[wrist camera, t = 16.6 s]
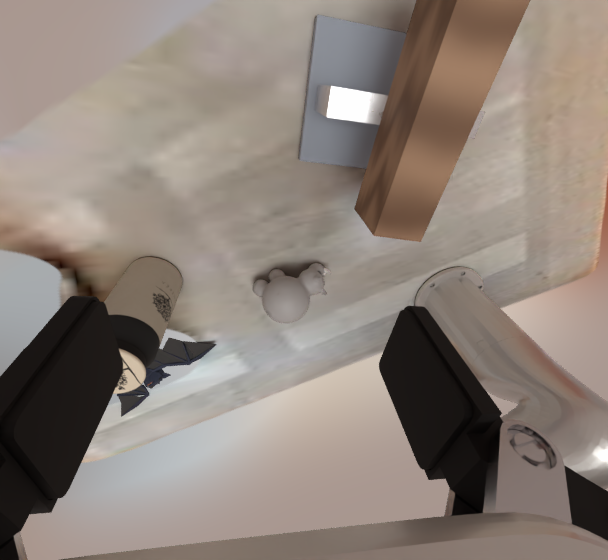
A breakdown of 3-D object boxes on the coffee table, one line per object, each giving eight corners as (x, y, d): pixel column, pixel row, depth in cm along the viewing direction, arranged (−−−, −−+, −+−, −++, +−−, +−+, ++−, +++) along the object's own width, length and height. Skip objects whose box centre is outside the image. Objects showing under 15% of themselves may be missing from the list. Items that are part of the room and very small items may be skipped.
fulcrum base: (424, 172, 42) (429, 175, 40) (298, 158, 38) (299, 160, 37) (467, 48, 34) (475, 47, 33) (315, 17, 31) (317, 14, 30)
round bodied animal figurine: (320, 276, 53) (348, 297, 46) (263, 312, 50) (284, 341, 43) (307, 243, 49) (336, 261, 42) (244, 281, 46) (265, 307, 39)
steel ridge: (438, 128, 37) (474, 138, 31) (314, 110, 34) (326, 117, 28) (446, 105, 36) (485, 111, 30) (318, 84, 33) (331, 86, 27)
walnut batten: (394, 214, 35) (420, 241, 29) (354, 208, 34) (373, 235, 28) (481, -16, 24) (550, -45, 18) (427, -35, 23) (482, -72, 17)
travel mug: (136, 299, 48) (81, 399, 33) (120, 256, 43) (48, 349, 28) (187, 297, 49) (155, 392, 34) (176, 254, 44) (135, 343, 29)
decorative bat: (169, 329, 47) (218, 354, 53) (173, 311, 50) (219, 336, 56) (69, 413, 55) (120, 426, 61) (78, 393, 59) (126, 408, 64)
